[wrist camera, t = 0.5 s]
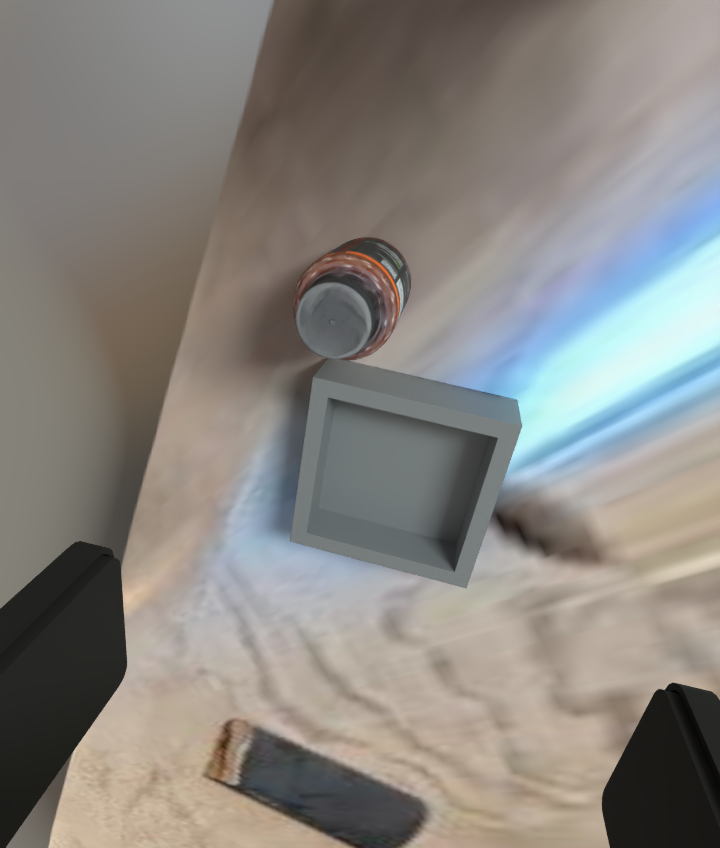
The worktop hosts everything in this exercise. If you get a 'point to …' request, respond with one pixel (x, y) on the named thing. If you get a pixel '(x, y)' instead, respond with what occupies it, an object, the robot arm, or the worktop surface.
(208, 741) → the worktop surface
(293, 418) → the worktop surface
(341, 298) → the supplement bottle
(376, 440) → the bin
